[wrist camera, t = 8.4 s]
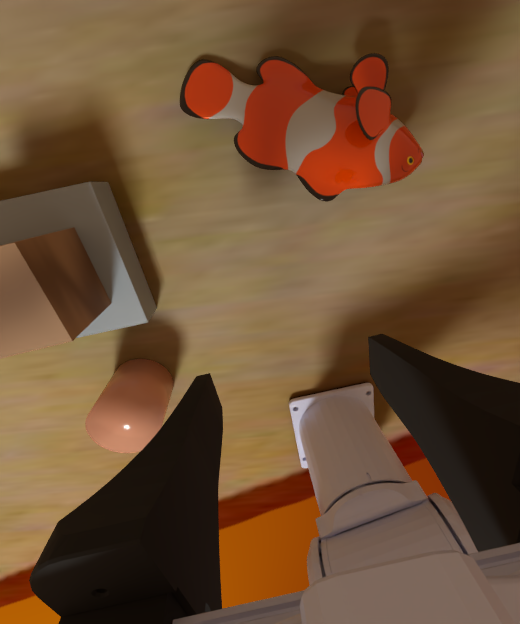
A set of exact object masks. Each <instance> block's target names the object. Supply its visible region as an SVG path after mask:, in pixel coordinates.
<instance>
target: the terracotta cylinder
mask: <svg viewBox="0 0 520 624" xmlns="http://www.w3.org/2000/svg"><path fill="white" fill-rule="evenodd" d="M172 390H173V379H172V376H171V374H170V373H169V371H168V370H167V369H166V368H165V367H164V366H162V365H161V364H159V363H157V362H155V361H152V360H148V359H133V360H129V361H127V362H125V363H123V364H122V365H120V366H119V367H118V368H117V370H116V371H115V373H114V374H113V376H112V378H111V379H110V381H109V382H108V384H107V386H106V387H105V389H104V390H103V392H102V393H101V395H100V397H99V398H98V400H97V401H96V403H95V404H94V406H93V408H92V409H91V411H90V412H89V414H88V416H87V418H86V430H87V433H88V434H89V436H90V437H91V439H92V440H93V441H94V442H95V443H97V444H98V445H100V446H101V447H103V448H105V449H108V450H110V451H114V452H119V453H133V452H138V451H142V450H143V448H144V447H145V446H146V445H147V444H148V443H149V442H150V441H151V440H152V438H153V437H154V436H155V435H156V434H157V432H158V431H159V430H160V429H161V427H162V424H163V420H164V417H165V413H166V410H167V407H168V403H169V400H170V397H171V393H172Z"/></svg>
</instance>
